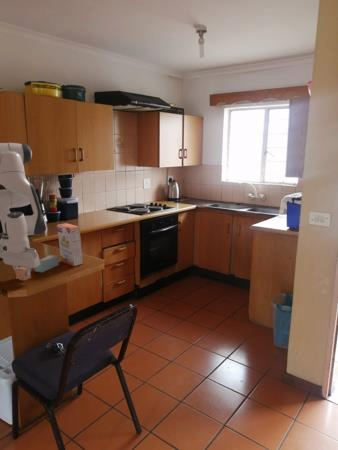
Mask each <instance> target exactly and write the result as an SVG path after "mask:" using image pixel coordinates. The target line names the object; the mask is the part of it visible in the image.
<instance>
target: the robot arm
mask: <svg viewBox="0 0 338 450" xmlns="http://www.w3.org/2000/svg"><path fill="white" fill-rule="evenodd" d="M32 156H33V151H32V149H31V147H30V146H29V144H27V143H17V142H0V185H1V186H3V187H4V188H5V189H0V223H1V227H2V232H1V233H0V236H1V238H0V259H2V261H3V263H4V264H5V265H8V266H12V268H13V270H14V273H15V274H16V271H15V269H18V268H19V267H26V269H27V272H25V275H27V276H29V275H31V271H32V269H35V268H36V267H38V266H39V265H40V261H39V260H40V257H39V254H38V251H37V250H36V249H35V248H34V247H31V246H30V239H29V237H28V236H33V235H34V236H41V235H43V234H44V233H45V232H46V231H47V228H48V225H47V220H46V218H45V217H44V214H43V212H42V207H41V205H40V200H39V197H38V194H37V193H36V188H35V187H34V185H33V183H32V182H30V181H28V179H27V177H26V171H25V167H24V165H27V164H29V163H30V162H32V158H33V157H32ZM28 205H31V209H32V212H33V214H32V215H31V214H30V215H25V214H24V212H22V211H12V212H11V210H10V209H13V208H22V207H25V206H26V207H27V206H28Z"/></svg>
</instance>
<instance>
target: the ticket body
mask: <svg viewBox="0 0 338 450" xmlns="http://www.w3.org/2000/svg"><path fill="white" fill-rule="evenodd" d="M39 261H40V265H39V266H38V267H36V268H34V272H38V273H44V272H46V271H48V270H51V269H53V268H56V267H57V266H59V265H60V263H59V255H52V254H51V255H47V256H45V257H43V258H39Z"/></svg>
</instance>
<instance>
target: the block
mask: <svg viewBox="0 0 338 450" xmlns="http://www.w3.org/2000/svg"><path fill="white" fill-rule="evenodd" d="M15 271H16V273H15V277H16V280H17V279H19V281H27V280H29V279H31V278H32V276H31V274H30V275H29V276H27V275H25V272H27V269H26V267H22V266H19V267H18V269H15V270H14V272H15Z"/></svg>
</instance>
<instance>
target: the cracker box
mask: <svg viewBox="0 0 338 450" xmlns="http://www.w3.org/2000/svg"><path fill="white" fill-rule="evenodd" d="M56 228H57V229H56V230H57V237H58V238H57V239H58V245H59V252H60V253H59V254H60V261H61V262H62V263H65V264H66V265H69V266H71V267H77V266H81V265H83V264H84V262H83V261H84V259H83V249H82V240H81V239H82V238H81V231H80V229H81V228H80V226H78V225H75V224H71V223H67V222H65V223H60V224H56Z"/></svg>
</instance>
